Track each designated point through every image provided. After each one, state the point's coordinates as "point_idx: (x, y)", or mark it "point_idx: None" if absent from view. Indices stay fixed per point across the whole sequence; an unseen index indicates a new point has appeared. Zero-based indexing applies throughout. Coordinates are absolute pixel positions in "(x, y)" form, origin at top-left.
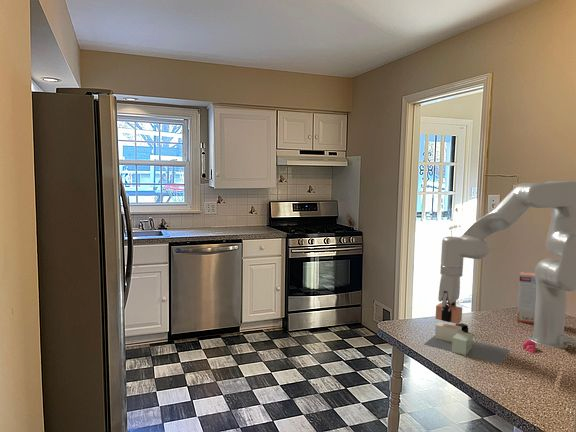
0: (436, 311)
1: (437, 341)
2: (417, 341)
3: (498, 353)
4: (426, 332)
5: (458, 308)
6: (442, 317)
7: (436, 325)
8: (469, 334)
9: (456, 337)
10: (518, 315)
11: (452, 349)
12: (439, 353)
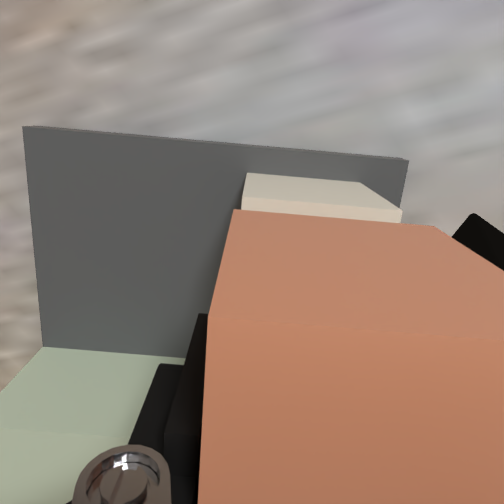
0: (224, 263)
1: (177, 211)
2: (128, 32)
3: None
4: (426, 36)
5: None
6: (192, 344)
7: (241, 206)
8: None
9: (6, 450)
10: None
11: (34, 361)
12: (11, 264)
